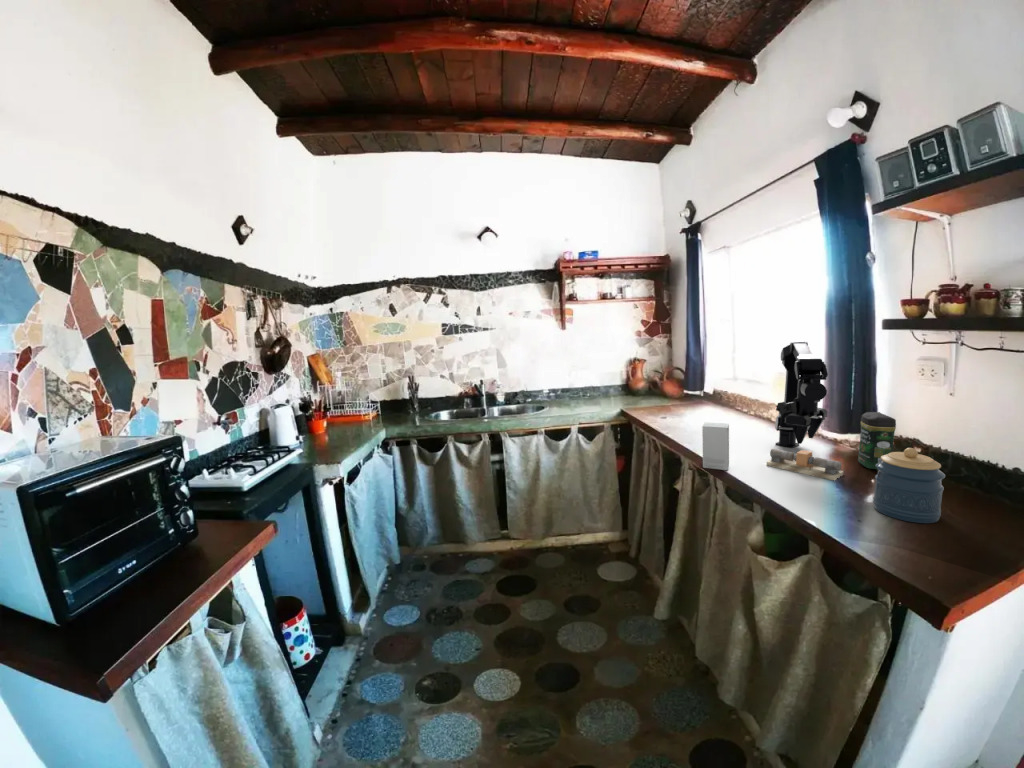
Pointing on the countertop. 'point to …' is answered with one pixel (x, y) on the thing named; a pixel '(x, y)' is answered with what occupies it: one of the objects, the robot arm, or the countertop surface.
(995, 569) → the countertop surface
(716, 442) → the skincare box
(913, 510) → the canister
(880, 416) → the coffee jar
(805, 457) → the coupling
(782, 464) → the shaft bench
